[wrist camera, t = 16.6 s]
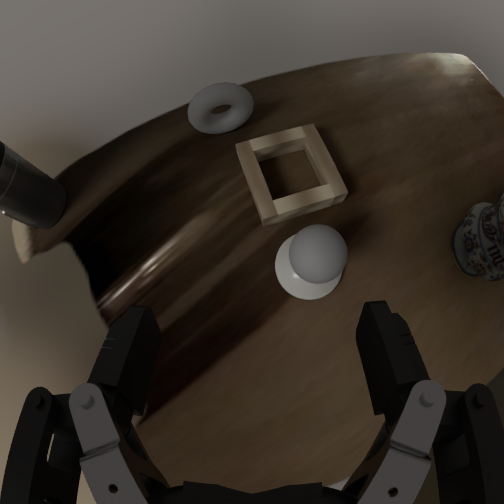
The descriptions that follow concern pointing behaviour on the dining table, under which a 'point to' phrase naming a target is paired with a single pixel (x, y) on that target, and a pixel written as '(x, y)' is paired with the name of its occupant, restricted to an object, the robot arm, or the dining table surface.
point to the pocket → (300, 202)
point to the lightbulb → (318, 254)
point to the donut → (216, 97)
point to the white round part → (294, 282)
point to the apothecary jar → (480, 242)
